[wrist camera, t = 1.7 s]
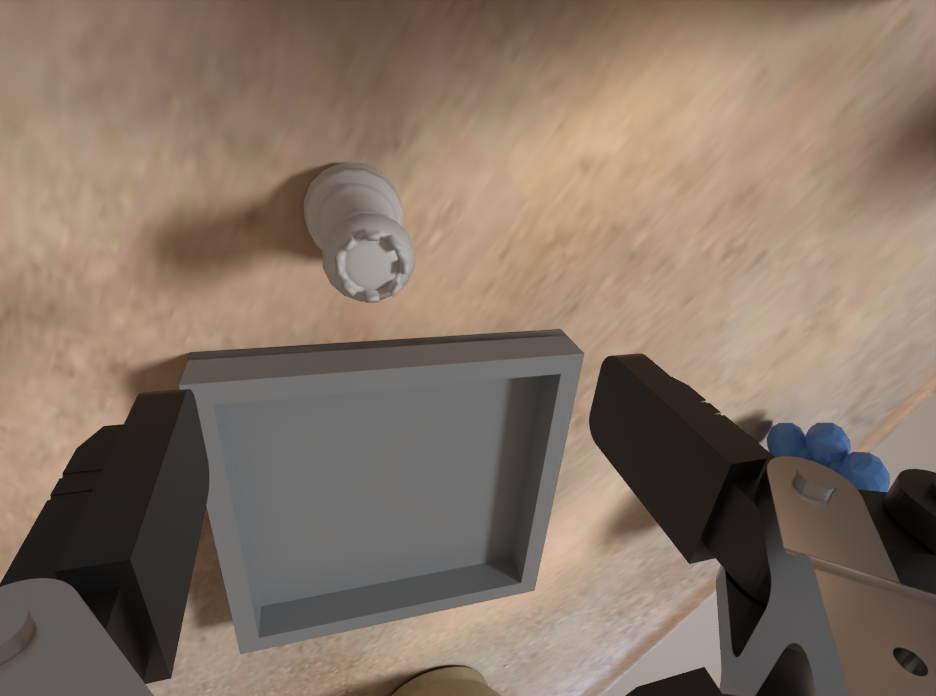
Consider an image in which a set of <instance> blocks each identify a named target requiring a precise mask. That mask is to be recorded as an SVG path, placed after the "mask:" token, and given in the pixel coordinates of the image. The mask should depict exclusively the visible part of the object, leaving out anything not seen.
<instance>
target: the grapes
mask: <svg viewBox="0 0 936 696" xmlns="http://www.w3.org/2000/svg"><path fill="white" fill-rule="evenodd" d="M767 446H768V449H769V453H770V454H772V455H773V456H774V457H775V458H776V457H781V456H793V457H799V458H804V459H807V460H811V461H814V462H816V463H819V464H821V465H823V466H826V467H828V468H830V469H831V470H833V471H835V472H837V473H838V474H840V475H841V476H843V477H844V478H845V479H847V480H848V481H849V482H850V483H851V484H852V485H853V486H854V487H855V488H856V489H860V490H870V491H879V492H887V491H888V488H889V484H890V481H889V480H890V479H889V478H890V476H889V472H888V471H887V469H886V468H885V466H884V465H883V464H882V462H881V460H880V459H879V458H877V457H876V456H874V455H872V454H870V453H866V452H852V453H850V441H849V439H848V437H847V436H846V434H845V433H844V431H843V429H842V428H841V427H839V426H837V425H835V424H834V423H817V424H815V425H813V426H812V427H810V429H809V430H808V432H807V434H806V436H805V435H804V433H803V431H802V430H801V428H800V427H798V426H796V425H794V424H793V423H778V424H777V425H775V426H774V427H772V429H771V430H770V432H769V434H768V437H767ZM849 453H850V454H849Z"/></svg>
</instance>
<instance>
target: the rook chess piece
mask: <svg viewBox="0 0 936 696" xmlns="http://www.w3.org/2000/svg"><path fill="white" fill-rule="evenodd" d="M303 203H304V220H305V223H306V227H307V229H308V231H309V233H310V235H311V237H312V239H313V241H314V243H315V244H316V245H317V246H318V247H319V248H320V249H321V250H322V256H323V269H324V271H325V273H326V275H327V277H328V279H329V281H330V283H331V285H333V286H334V287H335V288H336V289H337V290H338V291H340V292H341V293H342V294H343V295H344V296H347V297H350V298H353V299H356V300H358V301H366V303H367V302H380V300H382V299H385V298H387V297H390V296H393V297H394V296H395V295H396V294H397V293H398V292H399V291H400V290H401V289H402V288H403V286H404V285H405V284H406V283H407V282H408V280H409V278H410V276H411V274H412V272H413V270H414V266H415V249H414V246H413V243H412V241H411V238H410V236H409V234H408V233H407V232H406V231H405V230H404V229H403V227H402V224H403V208H402V205H401V202H400V200H399V197H398V194H397V192H396V189H395V187H394V185H393V184H392V183H391V182H390V181H389V180H388V179H387V178H386V177H385V176H384V174H383V173H382V172H380V171H378V170H376V169H374V168H372V167H370V166H367V165H365V164H363V163H345V162H343V163H340V164H337V165H335V166H332V167H329V168H327V169H324V170H323V171H322V172H321V173H320V174H319V175H318V176H317V177H316V178H315V179H314V180H313V181H312V182H311V183H310V186H309V188H308V191H307V194H306V196H305V199H304V202H303Z"/></svg>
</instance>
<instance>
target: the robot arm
mask: <svg viewBox="0 0 936 696" xmlns="http://www.w3.org/2000/svg"><path fill="white" fill-rule="evenodd" d="M589 425H590V431H591V435H592V437H593V440H594V442H595V443H596V445H597V446H598V447H599V449H600V450H601V451H602V452H603V454H604V455H605V456H606V458H607V459H608V460H609V461H610V463H611V464H612V465H613V467H614V468H615V469H616V470H617V472H618V473H619V474H620V476H621V477H622V478H623V479H624V481H625V482H626V483H627V484H628V486H629V487H630V488H631V490H632V491H633V492H634V493H635V495H636V496H637V497H638V499H639V500H640V501H641V502H642V504H643V505H644V506H645V508H646V509H647V510H648V511H649V513H650V514H651V515H652V517H653V518H654V519H655V520H656V522H657V523H658V524H659V526H660V527H661V528H662V529H663V531H664V532H665V533H666V535H667V536H668V537H669V538H670V540H671V541H672V542H673V543H674V545H675V546H676V547H677V549H678V550H679V551H680V552H681V554H682V555H683V556H684V558H685V559H686V560H687V561H688V563H689V564H691V563H696V562H700V561H705V560H709V559H714V558H716V559H717V560H718V561H719V563H720V564H721V566H720V568H719V570H718V572H717V575H716V591H717V605H718V620H719V634H720V649H721V666H722V673H721V683H720V688H718V687H717V685H716V684H715V682H714V681H713V679H712V678H711V676H710V675H709V673H708V672H707V670H706V669H705V667H703V668H700V669H696V670H692V671H689V672H686V673H682V674H679V675H676V676H672V677H669V678H666V679H662V680H659V681H656V682H652V683H649V684H646V685H642V686H639V687H636V688H635V689H634V690H633V691H631V692H630V693H628V694H627V695H626V696H936V473H934V472H931V471H926V470H919V469H908V470H904V471H902V472H901V473H900V474H899V475H898V477H897V478H896V480H895V482H894V483H893V485H892V486H891V488H890V489H889V491H888V492H879V491H870V490H860V489H856V488H855V487H854V486H853V485H852V484H851V483H850V482H849V481H848V480H847V479H845V478H844V477H843V476H841V475H840V474H838V473H837V472H835V471H833V470H831V469H830V468H828V467H826V466H823V465H821V464H819V463H816V462H814V461H811V460H807V459H804V458H799V457H793V456H781V457H776V458H775V457H774V456H773V455H772V454H770V453H769V452H768V451H767V450H766V449H764V448H763V447H762V446H761V445H760V444H758V443H757V442H756V441H755V440H754V439H752V438H751V437H750V436H749V435H748V434H746V433H745V432H744V431H743V430H742V429H740V428H739V427H738V426H737V425H735V424H734V423H733V422H732V421H731V420H729V419H728V418H727V417H726V416H725V415H723V416H721V412H720V411H719V410H717V409H716V408H715V407H714V406H713V405H711V404H710V403H706V400H705V399H704V398H703V397H702V396H701V395H699V394H698V393H697V392H696V391H695V390H693V389H692V388H691V387H690V386H688V385H687V384H685V383H683V382H681V381H679V380H677V379H675V378H673V377H671V376H669V375H668V374H667V373H666V372H665V371H663V370H662V369H661V368H660V367H659V366H658V365H656V364H655V363H654V362H653V361H652V360H650V359H649V358H648V357H647V356H645V355H644V354H628V355H615V356H608V357H607V358H605V360H604V361H603V363H602V365H601V369H600V373H599V378H598V382H597V386H596V390H595V395H594V399H593V403H592V407H591V412H590V417H589ZM208 493H209V463H208V457H207V452H206V447H205V442H204V438H203V433H202V428H201V423H200V419H199V414H198V409H197V404H196V400H195V396H194V394H193V392H192V390H191V389H182V390H170V391H158V392H145V393H140V394H139V395H138V396H137V398H136V400H135V402H134V404H133V406H132V409H131V411H130V413H129V415H128V417H127V419H126V421H125V423H124V424H122V425H112V426H103V427H102V428H101V429H100V430H99V431H97V432H96V433H95V434H94V435H92V436H91V437H90V438H89V439H88V440H86V441H85V442H84V443H83V444H82V445H80V446H79V447H78V448H77V449H76V451H75V452H74V454H73V456H72V458H71V459H70V461H69V463H68V465H67V467H66V468H65V470H64V472H63V478H61V479H59V481H58V482H57V484H56V486H55V488H54V489H53V491H52V493H51V499H50V500H47V502H46V504H45V505H44V507H43V509H42V511H41V512H40V514H39V516H38V518H37V519H36V521H35V523H34V525H33V527H32V528H31V530H30V532H29V534H28V535H27V537H26V539H25V541H24V542H23V544H22V546H21V548H20V549H19V551H18V553H17V555H16V557H15V558H14V560H13V562H12V564H11V565H10V567H9V569H8V571H7V572H6V574H5V576H4V578H3V579H2V581H1V583H0V696H154V695H153V694H152V693H151V691H150V690H149V688H148V687H147V686H146V684H147V683H152V682H156V681H161V680H165V679H170V678H171V676H172V671H173V666H174V661H175V656H176V651H177V646H178V641H179V637H180V632H181V627H182V622H183V617H184V612H185V607H186V602H187V597H188V592H189V587H190V582H191V578H192V573H193V568H194V563H195V558H196V553H197V548H198V543H199V538H200V533H201V528H202V523H203V519H204V514H205V509H206V504H207V499H208Z"/></svg>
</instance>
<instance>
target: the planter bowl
mask: <svg viewBox="0 0 936 696" xmlns="http://www.w3.org/2000/svg"><path fill="white" fill-rule="evenodd" d="M392 696H501V695H500V694H498V693H497V692H496V691H494V690H493V689H491V688H490V687H488V685H487V683H486V681H485V679H484V677H483V676H482V674H481V673H480V672H478V671H477V670H474V669H472V668H468V667H448V668H442V669H438V670H434V671H431V672H428V673H424V674H422V675H420V676H418V677H416V678H414V679H412V680H411V681H409V682H407V683H406V684H404V685H403V686H402V687H400V688H399V689H398V690H397V691H396V692H394V693H393V695H392Z"/></svg>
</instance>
